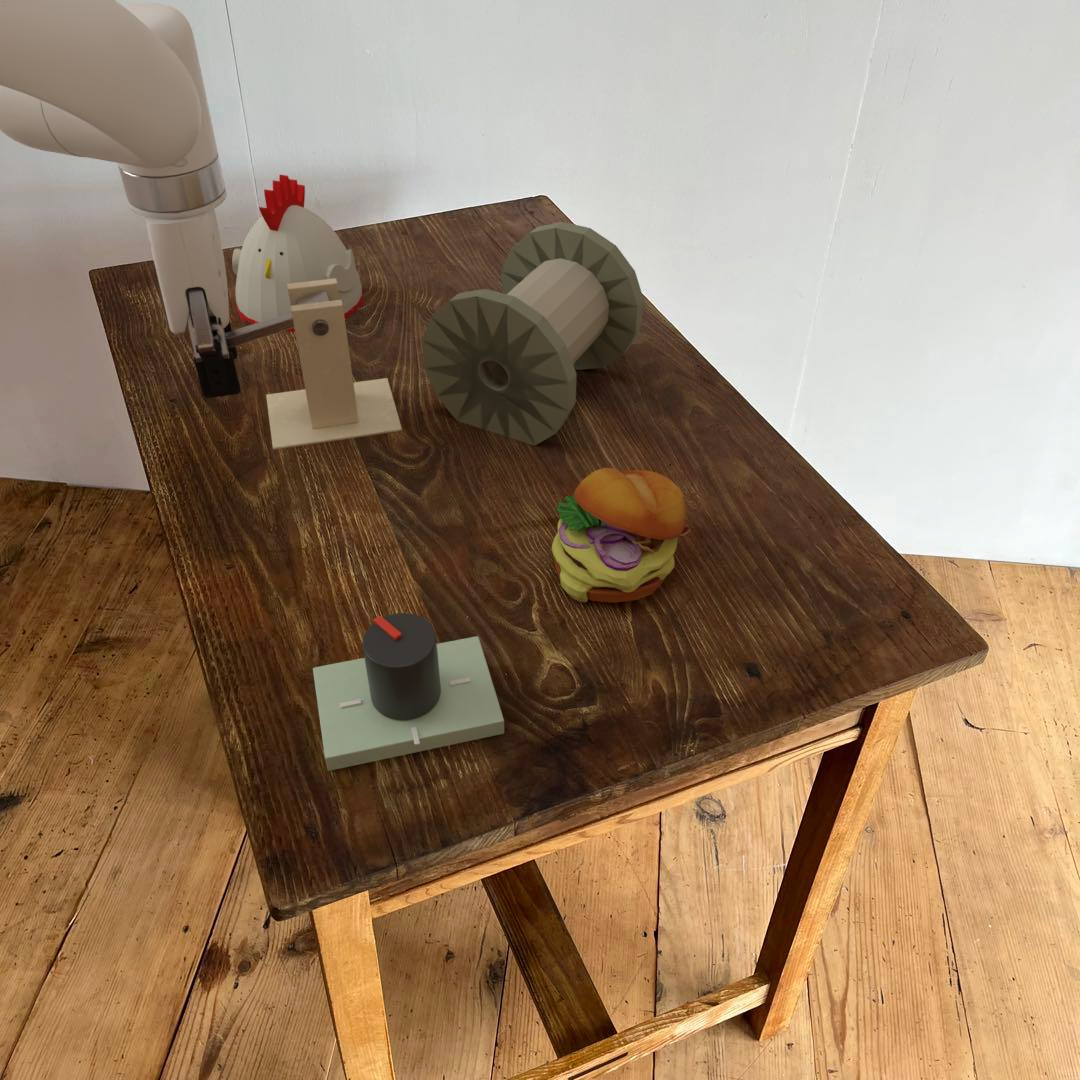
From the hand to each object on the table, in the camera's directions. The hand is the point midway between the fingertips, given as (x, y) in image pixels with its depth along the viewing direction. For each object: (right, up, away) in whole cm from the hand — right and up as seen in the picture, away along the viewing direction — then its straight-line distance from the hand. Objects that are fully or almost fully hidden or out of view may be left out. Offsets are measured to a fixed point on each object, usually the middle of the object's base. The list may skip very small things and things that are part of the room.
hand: (220, 374), depth 92 cm
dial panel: (+20, -28, -20) cm, 39 cm away
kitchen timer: (+2, +11, +23) cm, 26 cm away
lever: (+5, +3, -1) cm, 6 cm away
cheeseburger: (+35, -17, -8) cm, 40 cm away
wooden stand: (+9, -4, +6) cm, 12 cm away
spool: (+29, -1, +10) cm, 30 cm away
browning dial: (+20, -26, -22) cm, 39 cm away
